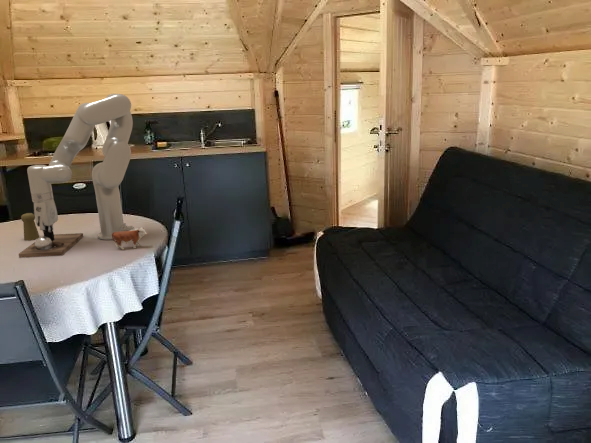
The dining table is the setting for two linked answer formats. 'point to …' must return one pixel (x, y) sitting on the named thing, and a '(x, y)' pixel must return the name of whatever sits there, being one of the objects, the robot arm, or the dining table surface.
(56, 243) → the board
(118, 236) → the bull figurine
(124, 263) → the dining table surface
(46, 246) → the ball
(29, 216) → the cork
